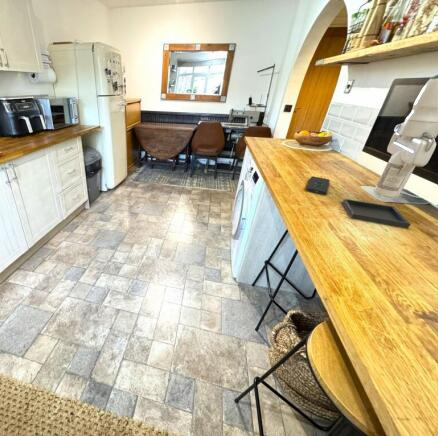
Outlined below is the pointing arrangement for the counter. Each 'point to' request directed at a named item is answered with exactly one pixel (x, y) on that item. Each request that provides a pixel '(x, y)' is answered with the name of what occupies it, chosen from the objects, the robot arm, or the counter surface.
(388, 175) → the bath foam
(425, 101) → the robot arm
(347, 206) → the tray
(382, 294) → the counter surface
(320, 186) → the smart home device
